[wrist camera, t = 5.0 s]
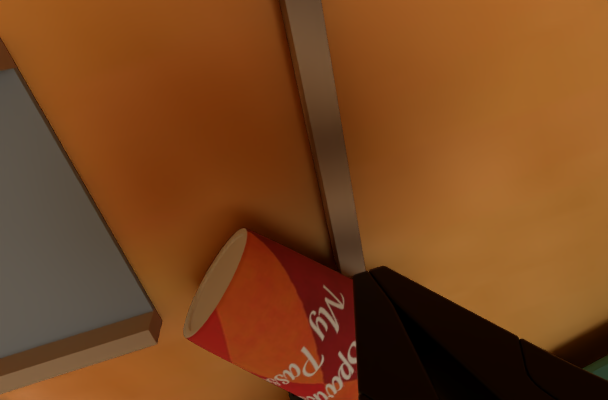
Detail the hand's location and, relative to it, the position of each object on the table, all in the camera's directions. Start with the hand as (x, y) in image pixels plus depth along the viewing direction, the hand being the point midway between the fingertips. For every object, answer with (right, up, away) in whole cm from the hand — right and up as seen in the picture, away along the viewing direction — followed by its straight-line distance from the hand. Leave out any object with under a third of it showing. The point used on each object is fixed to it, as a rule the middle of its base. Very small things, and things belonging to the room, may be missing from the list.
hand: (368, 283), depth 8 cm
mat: (-16, 0, +8) cm, 19 cm away
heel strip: (0, +5, +10) cm, 11 cm away
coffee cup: (-6, -2, +8) cm, 11 cm away
